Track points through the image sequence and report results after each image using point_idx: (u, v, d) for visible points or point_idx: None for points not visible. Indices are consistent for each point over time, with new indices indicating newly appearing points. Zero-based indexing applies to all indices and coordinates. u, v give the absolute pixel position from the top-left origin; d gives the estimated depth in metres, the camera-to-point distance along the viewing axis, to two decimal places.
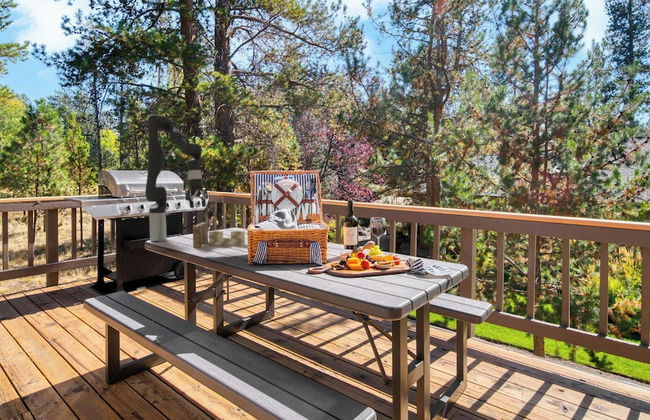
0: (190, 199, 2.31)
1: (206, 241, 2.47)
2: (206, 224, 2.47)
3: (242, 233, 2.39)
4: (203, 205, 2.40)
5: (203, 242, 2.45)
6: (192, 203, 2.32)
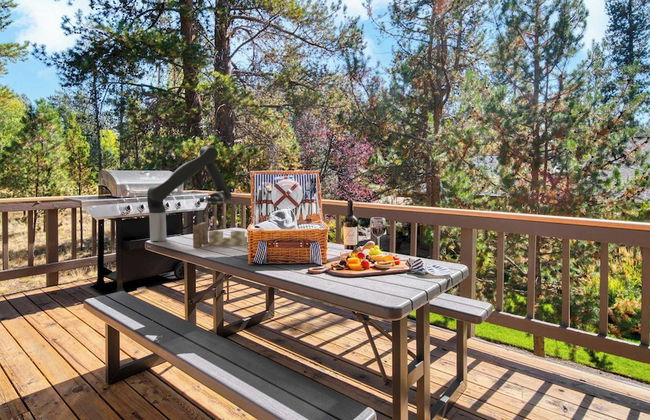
0: (219, 201, 2.60)
1: (206, 241, 2.47)
2: (206, 224, 2.47)
3: (242, 233, 2.39)
4: (202, 201, 2.57)
5: (203, 242, 2.45)
6: (216, 201, 2.58)
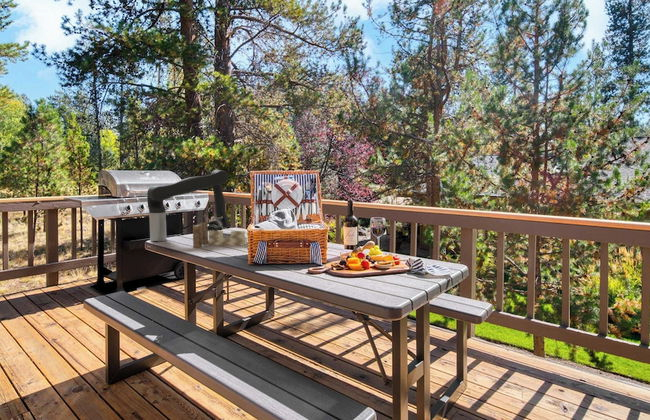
0: (218, 229, 2.58)
1: (206, 241, 2.47)
2: (206, 224, 2.47)
3: (242, 233, 2.39)
4: None
5: (203, 242, 2.45)
6: (215, 230, 2.56)
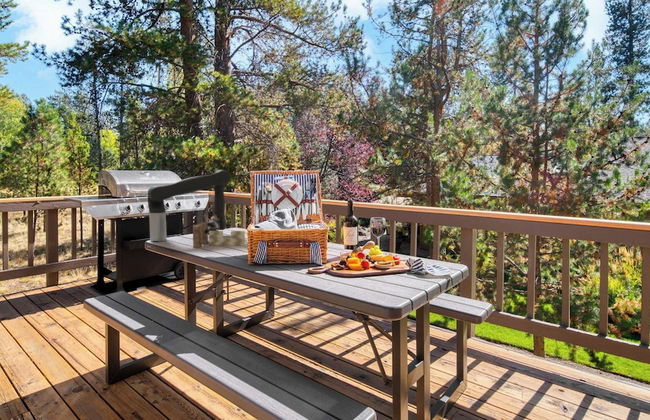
0: None
1: (206, 241, 2.47)
2: (206, 224, 2.47)
3: (242, 233, 2.39)
4: None
5: (203, 242, 2.45)
6: (207, 232, 2.47)
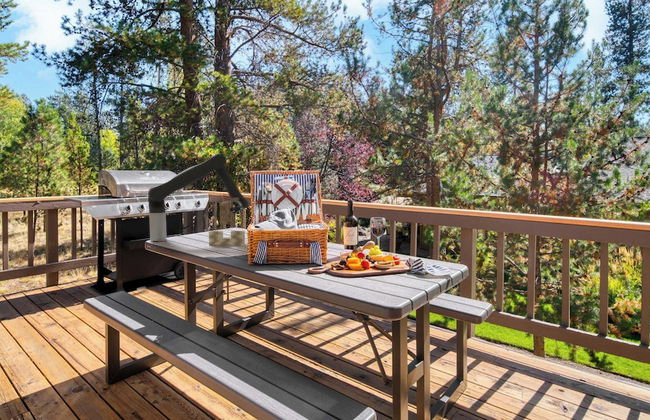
0: (234, 210, 2.48)
1: (231, 219, 2.46)
2: (231, 202, 2.46)
3: (242, 233, 2.39)
4: None
5: (228, 220, 2.44)
6: None
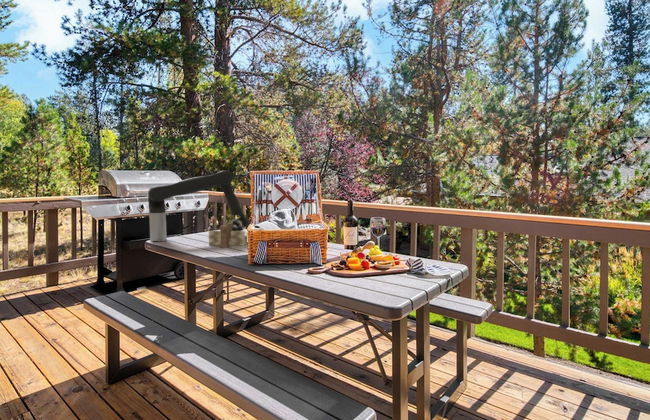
0: (237, 230, 2.49)
1: None
2: (232, 224, 2.47)
3: (242, 233, 2.39)
4: None
5: None
6: None
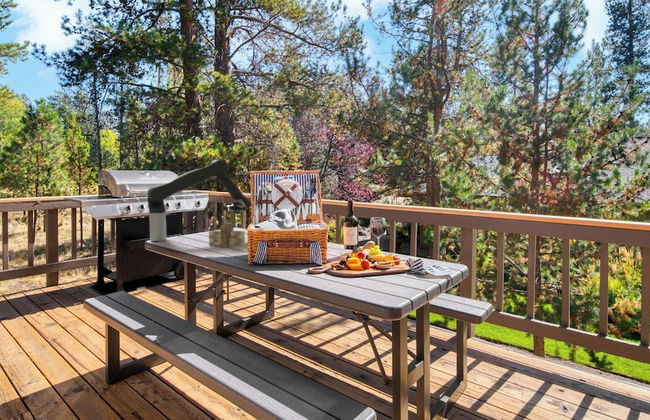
0: (242, 209, 2.60)
1: None
2: (232, 224, 2.47)
3: (242, 233, 2.39)
4: (226, 209, 2.56)
5: None
6: (240, 210, 2.58)
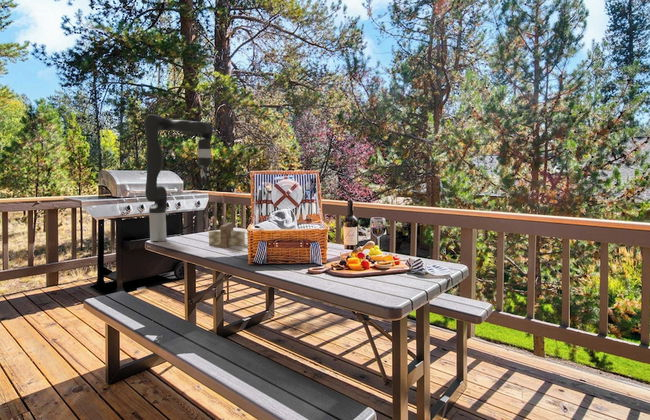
0: None
1: None
2: (232, 224, 2.47)
3: (242, 233, 2.39)
4: (204, 183, 2.50)
5: None
6: (208, 181, 2.43)
